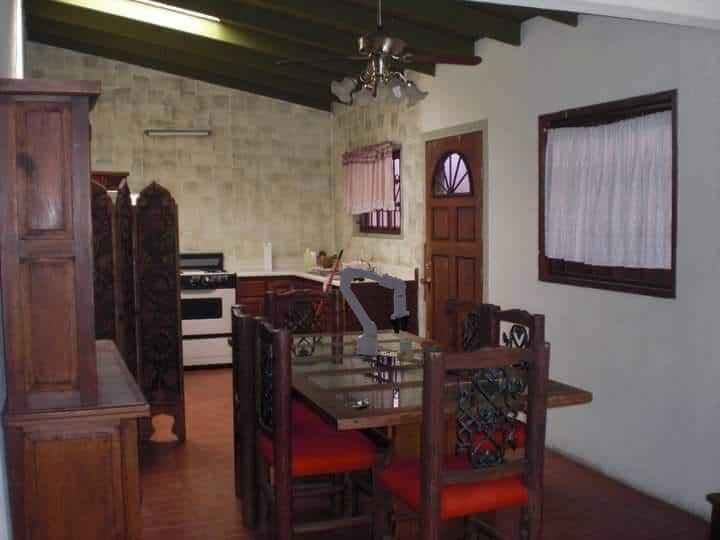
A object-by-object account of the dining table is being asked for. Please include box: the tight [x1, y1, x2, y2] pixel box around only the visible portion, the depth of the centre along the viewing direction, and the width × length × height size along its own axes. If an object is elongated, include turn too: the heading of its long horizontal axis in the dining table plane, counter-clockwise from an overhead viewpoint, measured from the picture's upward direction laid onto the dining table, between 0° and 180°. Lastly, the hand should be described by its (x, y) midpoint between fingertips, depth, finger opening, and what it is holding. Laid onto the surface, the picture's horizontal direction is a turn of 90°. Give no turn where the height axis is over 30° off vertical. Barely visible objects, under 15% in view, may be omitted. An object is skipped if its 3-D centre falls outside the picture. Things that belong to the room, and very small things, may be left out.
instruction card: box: [376, 351, 398, 358], centre depth 375 cm, size 12×9×1 cm
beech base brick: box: [396, 350, 415, 362], centre depth 363 cm, size 6×6×4 cm
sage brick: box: [399, 339, 413, 352], centre depth 362 cm, size 4×4×5 cm
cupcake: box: [419, 331, 439, 352], centre depth 374 cm, size 9×8×12 cm
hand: (400, 332), depth 376 cm, fingers open, 7 cm apart
